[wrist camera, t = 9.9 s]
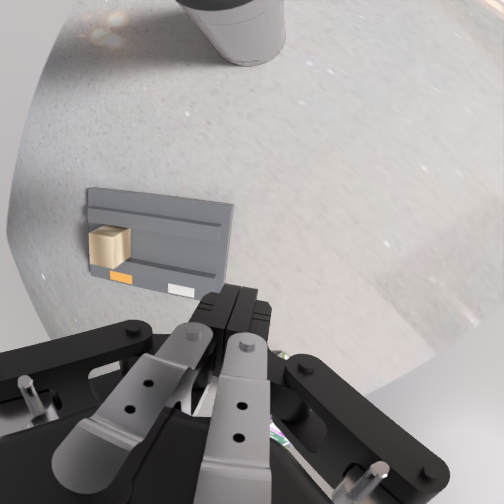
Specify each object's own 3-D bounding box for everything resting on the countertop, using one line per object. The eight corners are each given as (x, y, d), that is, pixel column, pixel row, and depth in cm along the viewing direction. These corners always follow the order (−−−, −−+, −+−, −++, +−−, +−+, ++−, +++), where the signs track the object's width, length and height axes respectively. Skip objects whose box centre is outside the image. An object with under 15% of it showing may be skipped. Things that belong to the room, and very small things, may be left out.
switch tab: (130, 227, 41) (112, 237, 36) (130, 256, 42) (113, 269, 37) (107, 223, 41) (88, 232, 36) (108, 252, 42) (90, 263, 38)
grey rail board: (233, 204, 40) (229, 208, 37) (223, 299, 44) (218, 309, 41) (93, 187, 41) (82, 190, 38) (95, 271, 46) (85, 278, 43)
